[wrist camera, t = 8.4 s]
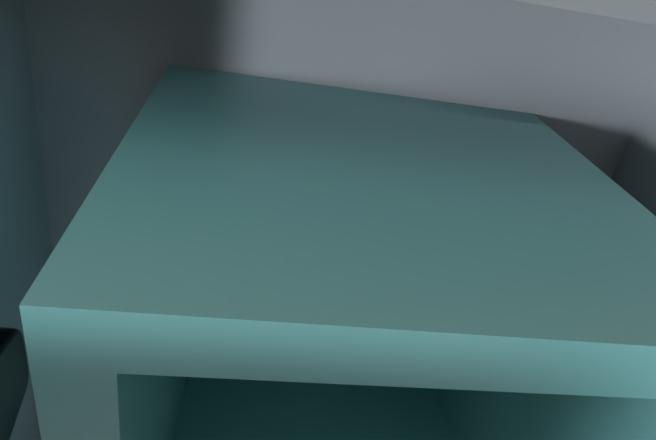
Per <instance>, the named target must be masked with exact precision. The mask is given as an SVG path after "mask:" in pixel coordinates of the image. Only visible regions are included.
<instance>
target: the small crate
mask: <svg viewBox="0 0 656 440" xmlns="http://www.w3.org/2000/svg"><path fill="white" fill-rule="evenodd" d="M19 308H20V314H21V320H22V326H23V332H24V338H25V344H26V350H27V356H28V362H29V369H30V375H31V381H32V387H33V393H34V399H35V405H36V411H37V417H38V423H39V429H40V435H41V440H656V216H655V215H654V214H653V213H651V212H650V211H649V210H648V209H647V208H645V207H644V206H643V205H642V204H641V203H639V202H638V201H637V200H636V199H635V198H633V197H632V196H631V195H630V194H629V193H627V192H626V191H625V190H624V189H623V188H621V187H620V186H619V185H618V184H617V183H615V182H614V181H613V180H612V179H611V178H609V177H608V176H607V175H606V174H605V173H603V172H602V171H601V170H600V169H599V168H598V167H596V166H595V165H594V164H593V163H592V162H590V161H589V160H588V159H587V158H586V157H584V156H583V155H582V154H581V153H580V152H578V151H577V150H576V149H575V148H574V147H572V146H571V145H570V144H569V143H568V142H566V141H565V140H564V139H563V138H562V137H560V136H559V135H558V134H557V133H556V132H554V131H553V130H552V129H551V128H550V127H548V126H547V125H546V124H545V123H544V122H543V121H541V120H540V119H539V118H538V117H537V116H535V115H534V114H531V113H524V112H517V111H509V110H502V109H495V108H487V107H480V106H473V105H465V104H458V103H450V102H443V101H436V100H428V99H421V98H414V97H406V96H399V95H392V94H384V93H377V92H370V91H362V90H355V89H348V88H340V87H333V86H326V85H318V84H311V83H304V82H296V81H289V80H282V79H274V78H267V77H260V76H252V75H245V74H238V73H230V72H223V71H216V70H208V69H201V68H194V67H186V66H179V65H171V64H169V66H168V67H167V69H166V71H165V72H164V74H163V75H162V77H161V79H160V80H159V82H158V83H157V85H156V87H155V88H154V90H153V91H152V93H151V95H150V96H149V98H148V99H147V101H146V103H145V104H144V106H143V107H142V109H141V111H140V112H139V114H138V115H137V117H136V119H135V120H134V122H133V123H132V125H131V127H130V128H129V130H128V131H127V133H126V135H125V136H124V138H123V139H122V141H121V143H120V144H119V146H118V148H117V149H116V151H115V152H114V154H113V156H112V157H111V159H110V160H109V162H108V164H107V165H106V167H105V168H104V170H103V172H102V173H101V175H100V176H99V178H98V180H97V181H96V183H95V184H94V186H93V188H92V189H91V191H90V192H89V194H88V196H87V197H86V199H85V200H84V202H83V204H82V205H81V207H80V208H79V210H78V212H77V213H76V215H75V216H74V218H73V220H72V221H71V223H70V224H69V226H68V228H67V229H66V231H65V232H64V234H63V236H62V237H61V239H60V240H59V242H58V244H57V245H56V247H55V248H54V250H53V252H52V253H51V255H50V256H49V258H48V260H47V261H46V263H45V265H44V266H43V268H42V269H41V271H40V273H39V274H38V276H37V277H36V279H35V281H34V282H33V284H32V285H31V287H30V289H29V290H28V292H27V293H26V295H25V297H24V298H23V300H22V301H21V303H20V305H19Z"/></svg>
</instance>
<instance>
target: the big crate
mask: <svg viewBox="0 0 656 440" xmlns="http://www.w3.org/2000/svg"><path fill="white" fill-rule="evenodd" d="M169 64H171V65H179V66H186V67H194V68H201V69H208V70H216V71H223V72H230V73H238V74H245V75H252V76H260V77H267V78H274V79H282V80H289V81H296V82H304V83H311V84H318V85H326V86H333V87H340V88H348V89H355V90H362V91H370V92H377V93H384V94H392V95H399V96H406V97H414V98H421V99H428V100H436V101H443V102H450V103H458V104H465V105H473V106H480V107H487V108H495V109H502V110H509V111H517V112H524V113H531V114H534V115H535V116H537V117H538V118H539V119H540V120H541V121H543V122H544V123H545V124H546V125H547V126H548V127H550V128H551V129H552V130H553V131H554V132H556V133H557V134H558V135H559V136H560V137H562V138H563V139H564V140H565V141H566V142H568V143H569V144H570V145H571V146H572V147H574V148H575V149H576V150H577V151H578V152H580V153H581V154H582V155H583V156H584V157H586V158H587V159H588V160H589V161H590V162H592V163H593V164H594V165H595V166H596V167H598V168H599V169H600V170H601V171H602V172H603V173H605V174H606V175H607V176H608V177H609V178H611V179H612V180H613V181H614V182H615V183H617V184H618V185H619V186H620V187H621V188H623V189H624V190H625V191H626V192H627V193H629V194H630V195H631V196H632V197H633V198H635V199H636V200H637V201H638V202H639V203H641V204H642V205H643V206H644V207H645V208H647V209H648V210H649V211H650V212H651V213H653V214H654V215H655V216H656V0H0V327H6V328H16V329H19V330H20V331H21V333H22V335H23V339H24V345H25V351H26V357H27V363H28V369H29V362H28V356H27V350H26V344H25V338H24V332H23V326H22V320H21V314H20V308H19V305H20V303H21V301H22V300H23V298H24V297H25V295H26V293H27V292H28V290H29V289H30V287H31V285H32V284H33V282H34V281H35V279H36V277H37V276H38V274H39V273H40V271H41V269H42V268H43V266H44V265H45V263H46V261H47V260H48V258H49V256H50V255H51V253H52V252H53V250H54V248H55V247H56V245H57V244H58V242H59V240H60V239H61V237H62V236H63V234H64V232H65V231H66V229H67V228H68V226H69V224H70V223H71V221H72V220H73V218H74V216H75V215H76V213H77V212H78V210H79V208H80V207H81V205H82V204H83V202H84V200H85V199H86V197H87V196H88V194H89V192H90V191H91V189H92V188H93V186H94V184H95V183H96V181H97V180H98V178H99V176H100V175H101V173H102V172H103V170H104V168H105V167H106V165H107V164H108V162H109V160H110V159H111V157H112V156H113V154H114V152H115V151H116V149H117V148H118V146H119V144H120V143H121V141H122V139H123V138H124V136H125V135H126V133H127V131H128V130H129V128H130V127H131V125H132V123H133V122H134V120H135V119H136V117H137V115H138V114H139V112H140V111H141V109H142V107H143V106H144V104H145V103H146V101H147V99H148V98H149V96H150V95H151V93H152V91H153V90H154V88H155V87H156V85H157V83H158V82H159V80H160V79H161V77H162V75H163V74H164V72H165V71H166V69H167V67H168V66H169ZM10 440H41V435H40V429H39V423H38V417H37V411H36V405H35V399H34V393H33V387H32V381H31V375H30V369H29V380H28V385H27V389H26V393H25V395H24V398H23V401H22V404H21V407H20V410H19V413H18V416H17V419H16V422H15V425H14V428H13V431H12V434H11V437H10Z"/></svg>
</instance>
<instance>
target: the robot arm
mask: <svg viewBox="0 0 656 440" xmlns="http://www.w3.org/2000/svg"><path fill="white" fill-rule="evenodd" d="M28 380H29V369H28V363H27V357H26V351H25V345H24V339H23V335H22V333H21V331H20V330H19V329H16V328H6V327H0V440H10V437H11V434H12V431H13V428H14V425H15V422H16V419H17V416H18V413H19V410H20V407H21V404H22V401H23V398H24V395H25V393H26V389H27V385H28Z"/></svg>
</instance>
